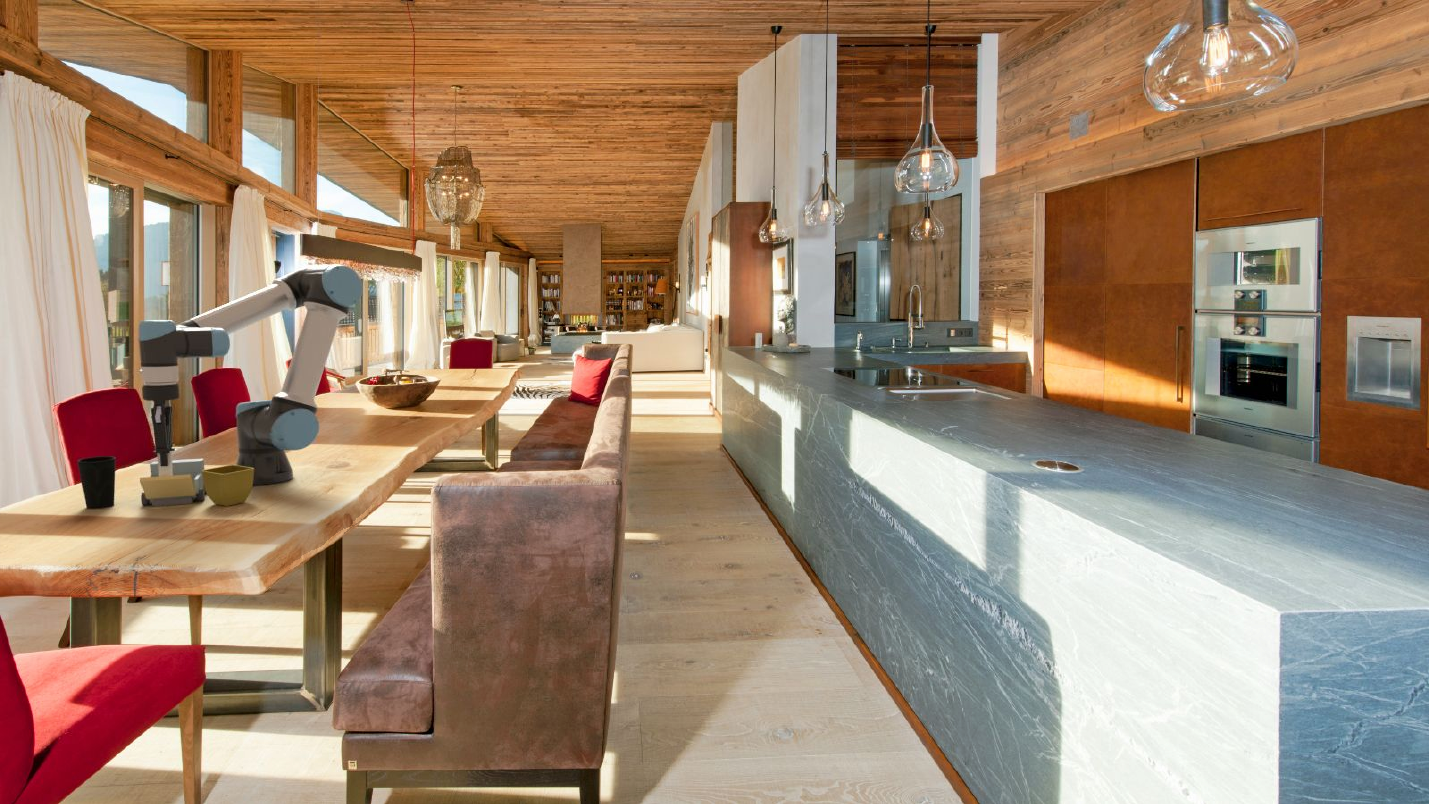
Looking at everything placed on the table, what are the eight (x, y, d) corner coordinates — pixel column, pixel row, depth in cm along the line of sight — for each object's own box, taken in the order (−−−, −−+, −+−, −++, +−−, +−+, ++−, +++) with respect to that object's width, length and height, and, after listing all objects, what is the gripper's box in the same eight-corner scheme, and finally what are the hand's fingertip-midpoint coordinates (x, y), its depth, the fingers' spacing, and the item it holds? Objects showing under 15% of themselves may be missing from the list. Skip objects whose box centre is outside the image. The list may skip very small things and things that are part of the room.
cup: (99, 511, 203) (94, 462, 201) (73, 509, 204) (69, 461, 203) (126, 503, 210) (123, 457, 209) (101, 501, 212) (98, 455, 210)
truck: (209, 490, 225) (207, 458, 223) (202, 502, 212) (200, 467, 211) (151, 495, 219) (149, 461, 218) (141, 507, 207) (138, 472, 206)
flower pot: (257, 501, 214) (255, 467, 212) (225, 509, 206) (222, 474, 205) (234, 497, 217) (232, 464, 216) (202, 505, 209) (199, 470, 208)
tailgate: (196, 493, 212) (190, 474, 205) (195, 496, 211) (190, 477, 204) (147, 496, 207) (140, 477, 200) (147, 500, 207) (139, 481, 200)
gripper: (147, 381, 206) (152, 474, 209) (136, 386, 194) (142, 485, 197) (182, 380, 209) (187, 472, 212) (174, 385, 197) (179, 482, 200)
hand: (166, 478), depth 204 cm, fingers closed
